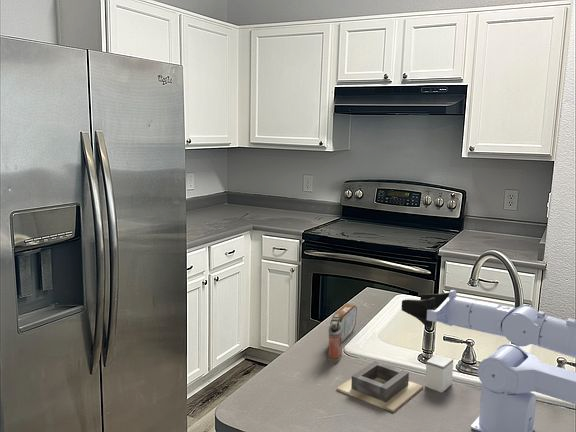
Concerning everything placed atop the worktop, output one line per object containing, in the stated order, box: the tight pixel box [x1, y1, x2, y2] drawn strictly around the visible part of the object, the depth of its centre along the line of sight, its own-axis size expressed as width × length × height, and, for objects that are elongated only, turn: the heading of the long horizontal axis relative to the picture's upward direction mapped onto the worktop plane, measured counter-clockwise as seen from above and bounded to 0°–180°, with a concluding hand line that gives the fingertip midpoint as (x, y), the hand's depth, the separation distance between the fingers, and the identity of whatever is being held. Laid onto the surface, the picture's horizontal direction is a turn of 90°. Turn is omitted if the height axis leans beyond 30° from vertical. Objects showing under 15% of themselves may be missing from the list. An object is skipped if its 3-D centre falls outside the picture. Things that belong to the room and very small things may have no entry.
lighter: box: [327, 313, 343, 364], centre depth 133 cm, size 8×3×10 cm, turn 168°
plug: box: [424, 353, 454, 393], centre depth 119 cm, size 4×5×6 cm
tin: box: [329, 302, 358, 343], centre depth 144 cm, size 15×3×8 cm, turn 153°
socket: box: [336, 360, 424, 414], centre depth 117 cm, size 14×13×4 cm
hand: (412, 302), depth 113 cm, fingers open, 7 cm apart
